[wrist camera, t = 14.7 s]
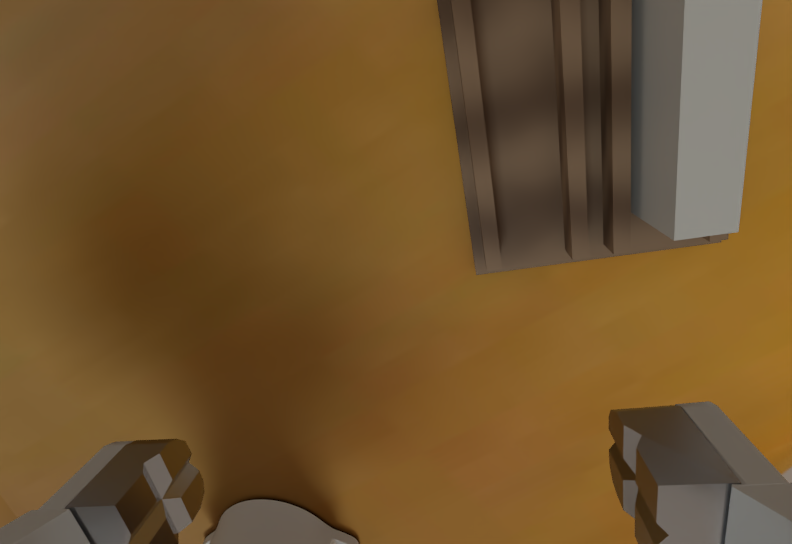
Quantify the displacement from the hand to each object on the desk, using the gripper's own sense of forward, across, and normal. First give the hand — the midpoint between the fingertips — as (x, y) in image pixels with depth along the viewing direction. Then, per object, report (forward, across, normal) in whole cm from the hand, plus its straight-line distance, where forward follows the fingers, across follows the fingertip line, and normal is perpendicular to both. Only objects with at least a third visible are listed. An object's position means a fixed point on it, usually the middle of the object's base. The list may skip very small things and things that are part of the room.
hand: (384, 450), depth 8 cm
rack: (+23, +10, +4) cm, 26 cm away
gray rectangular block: (+22, +14, +4) cm, 27 cm away
